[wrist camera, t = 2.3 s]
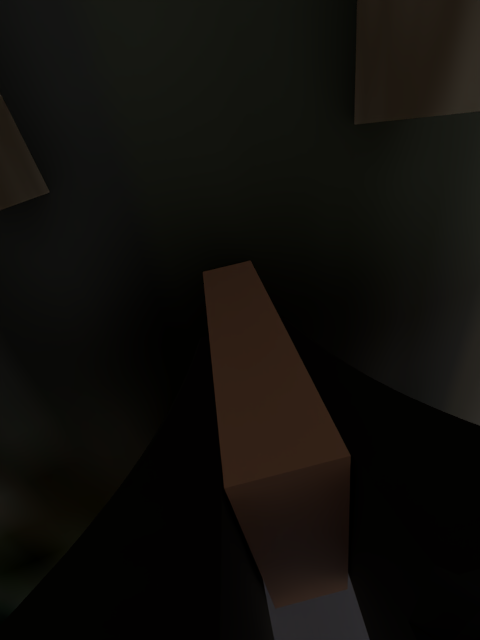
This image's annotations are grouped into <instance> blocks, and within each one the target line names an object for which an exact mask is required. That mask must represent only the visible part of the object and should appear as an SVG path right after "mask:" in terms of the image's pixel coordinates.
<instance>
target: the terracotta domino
mask: <svg viewBox="0 0 480 640" xmlns="http://www.w3.org/2000/svg"><path fill="white" fill-rule="evenodd" d="M203 280H204V290H205V300H206V310H207V320H208V330H209V341H210V351H211V361H212V371H213V381H214V391H215V401H216V411H217V421H218V432H219V442H220V452H221V462H222V472H223V482H224V489H225V492H226V494H227V496H228V499H229V501H230V503H231V506H232V508H233V510H234V513H235V515H236V517H237V520H238V522H239V524H240V527H241V529H242V531H243V534H244V536H245V538H246V541H247V543H248V545H249V548H250V550H251V553H252V555H253V557H254V560H255V562H256V564H257V567H258V569H259V571H260V574H261V576H262V578H263V581H264V583H265V585H266V588H267V590H268V592H269V595H270V597H271V599H272V602H273V604H274V606H275V609H276V608H279V607H283V606H287V605H291V604H294V603H298V602H302V601H306V600H309V599H313V598H317V597H321V596H324V595H328V594H332V593H335V592H339V591H343V590H347V589H348V549H349V506H350V464H351V455H350V453H349V451H348V449H347V447H346V446H345V444H344V442H343V440H342V438H341V436H340V434H339V432H338V430H337V428H336V426H335V424H334V422H333V420H332V418H331V416H330V414H329V412H328V410H327V409H326V407H325V405H324V403H323V401H322V399H321V397H320V395H319V393H318V391H317V389H316V387H315V385H314V383H313V381H312V379H311V377H310V375H309V373H308V371H307V370H306V368H305V366H304V364H303V362H302V360H301V358H300V356H299V354H298V352H297V350H296V348H295V346H294V344H293V342H292V340H291V338H290V336H289V334H288V332H287V331H286V329H285V327H284V325H283V323H282V321H281V319H280V317H279V315H278V313H277V311H276V309H275V307H274V305H273V303H272V301H271V299H270V297H269V295H268V293H267V292H266V290H265V288H264V286H263V284H262V282H261V280H260V278H259V276H258V274H257V272H256V270H255V268H254V266H253V264H252V262H251V260H250V261H246V262H242V263H238V264H233V265H229V266H225V267H221V268H217V269H213V270H209V271H204V272H203Z"/></svg>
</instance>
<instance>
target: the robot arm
mask: <svg viewBox="0 0 480 640" xmlns="http://www.w3.org/2000/svg"><path fill="white" fill-rule="evenodd" d="M280 319H281V321H282V323H283V325H284V327H285V329H286V331H287V332H288V334H289V336H290V338H291V340H292V342H293V344H294V346H295V348H296V350H297V352H298V354H299V356H300V358H301V360H302V362H303V364H304V366H305V368H306V370H307V371H308V373H309V375H310V377H311V379H312V381H313V383H314V385H315V387H316V389H317V391H318V393H319V395H320V397H321V399H322V401H323V403H324V405H325V407H326V409H327V410H328V412H329V414H330V416H331V418H332V420H333V422H334V424H335V426H336V428H337V430H338V432H339V434H340V436H341V438H342V440H343V442H344V444H345V446H346V447H347V449H348V451H349V453H350V455H351V464H350V506H349V549H348V589H347V590H343V591H339V592H335V593H332V594H328V595H324V596H321V597H317V598H313V599H309V600H306V601H302V602H298V603H294V604H291V605H287V606H283V607H279V608H276V609H275V606H274V604H273V602H272V599H271V597H270V595H269V592H268V590H267V588H266V585H265V583H264V581H263V578H262V576H261V574H260V571H259V569H258V567H257V564H256V562H255V560H254V557H253V555H252V553H251V550H250V548H249V545H248V543H247V541H246V538H245V536H244V534H243V531H242V529H241V527H240V524H239V522H238V520H237V517H236V515H235V513H234V510H233V508H232V506H231V503H230V501H229V499H228V496H227V494H226V492H225V489H224V482H223V472H222V462H221V452H220V442H219V432H218V421H217V411H216V401H215V391H214V381H213V371H212V361H211V351H210V341H209V335H207V336H203V337H201V338H200V340H199V342H198V345H197V348H196V351H195V354H194V357H193V359H192V362H191V365H190V367H189V370H188V372H187V374H186V376H185V379H184V381H183V383H182V386H181V388H180V390H179V392H178V394H177V396H176V398H175V400H174V402H173V404H172V406H171V408H170V410H169V412H168V413H167V415H166V417H165V419H164V421H163V422H162V424H161V426H160V427H159V429H158V431H157V433H156V434H155V436H154V437H153V439H152V441H151V442H150V444H149V445H148V447H147V448H146V450H145V451H144V453H143V454H142V456H141V457H140V459H139V460H138V462H137V463H136V465H135V466H134V467H133V469H132V470H131V472H130V473H129V475H128V476H127V477H126V479H125V480H124V482H123V483H122V484H121V486H120V487H119V488H118V490H117V491H116V492H115V494H114V495H113V496H112V497H111V499H110V500H109V501H108V502H107V504H106V505H105V506H104V507H103V509H102V510H101V511H100V512H99V514H98V515H97V516H96V517H95V519H94V520H93V521H92V522H91V524H90V525H89V526H88V527H87V529H86V530H85V531H84V533H83V534H82V535H81V536H80V537H79V539H78V540H77V541H76V542H75V543H74V544H73V546H72V547H71V548H70V549H69V550H68V552H67V553H66V554H65V555H64V556H63V557H62V558H61V559H60V561H59V562H58V563H57V564H56V565H55V566H54V567H53V568H52V569H51V570H50V572H49V573H48V574H47V575H46V576H45V577H44V578H43V579H42V580H41V582H40V583H39V584H38V585H37V586H36V587H35V588H34V589H33V590H32V591H31V593H30V594H29V595H28V596H27V597H26V598H25V599H24V600H23V601H22V603H21V604H20V605H19V606H18V607H17V608H16V609H15V610H14V611H13V612H12V613H11V615H10V616H9V617H8V618H7V619H6V620H5V621H4V622H3V623H2V624H1V625H0V640H480V426H479V425H476V424H473V423H470V422H468V421H465V420H463V419H460V418H458V417H455V416H453V415H450V414H448V413H445V412H443V411H440V410H438V409H436V408H433V407H431V406H429V405H426V404H424V403H422V402H420V401H417V400H415V399H413V398H410V397H408V396H406V395H404V394H402V393H400V392H398V391H396V390H394V389H392V388H390V387H388V386H386V385H384V384H382V383H380V382H378V381H376V380H374V379H372V378H370V377H369V376H367V375H365V374H363V373H362V372H360V371H358V370H356V369H355V368H353V367H352V366H350V365H348V364H347V363H345V362H344V361H342V360H340V359H339V358H337V357H336V356H334V355H333V354H331V353H330V352H329V351H327V350H326V349H324V348H323V347H322V346H320V345H319V344H317V343H316V342H315V341H313V340H312V339H311V338H309V337H308V336H307V335H305V334H304V333H303V332H302V331H300V330H299V329H298V328H297V327H295V326H294V325H293V324H292V323H291V322H289V321H288V320H287V319H285V318H284V317H283V318H280Z"/></svg>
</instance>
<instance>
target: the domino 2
mask: <svg viewBox="0 0 480 640" xmlns="http://www.w3.org/2000/svg"><path fill="white" fill-rule="evenodd" d="M478 111H480V0H357V31H356V74H355V116H354V125H355V124H365V123H374V122H384V121H393V120H403V119H412V118H421V117H431V116H440V115H450V114H459V113H469V112H478Z"/></svg>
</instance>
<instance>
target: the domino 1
mask: <svg viewBox="0 0 480 640" xmlns="http://www.w3.org/2000/svg"><path fill="white" fill-rule="evenodd" d="M47 193H50V191H49V189H48V187H47V185H46V183H45V181H44V179H43V177H42V175H41V173H40V171H39V169H38V168H37V166H36V164H35V162H34V160H33V158H32V156H31V154H30V152H29V150H28V148H27V146H26V144H25V142H24V140H23V138H22V136H21V134H20V132H19V130H18V128H17V126H16V124H15V122H14V120H13V118H12V116H11V114H10V112H9V110H8V108H7V106H6V104H5V102H4V100H3V98H2V96H1V94H0V210H2V209H5V208H8V207H11V206H13V205H16V204H19V203H22V202H25V201H27V200H30V199H33V198H36V197H38V196H41V195H44V194H47Z"/></svg>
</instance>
